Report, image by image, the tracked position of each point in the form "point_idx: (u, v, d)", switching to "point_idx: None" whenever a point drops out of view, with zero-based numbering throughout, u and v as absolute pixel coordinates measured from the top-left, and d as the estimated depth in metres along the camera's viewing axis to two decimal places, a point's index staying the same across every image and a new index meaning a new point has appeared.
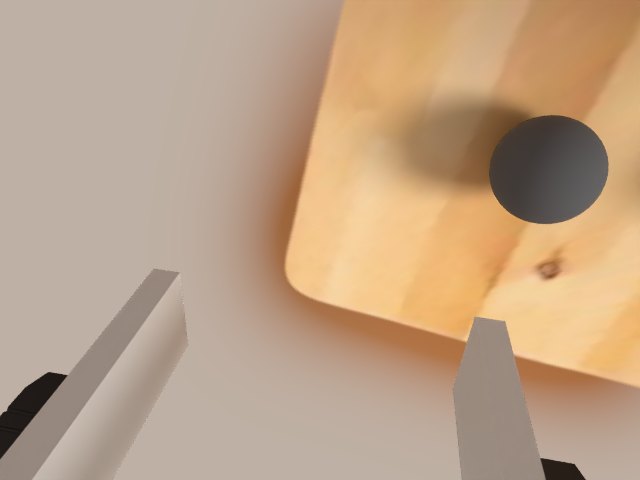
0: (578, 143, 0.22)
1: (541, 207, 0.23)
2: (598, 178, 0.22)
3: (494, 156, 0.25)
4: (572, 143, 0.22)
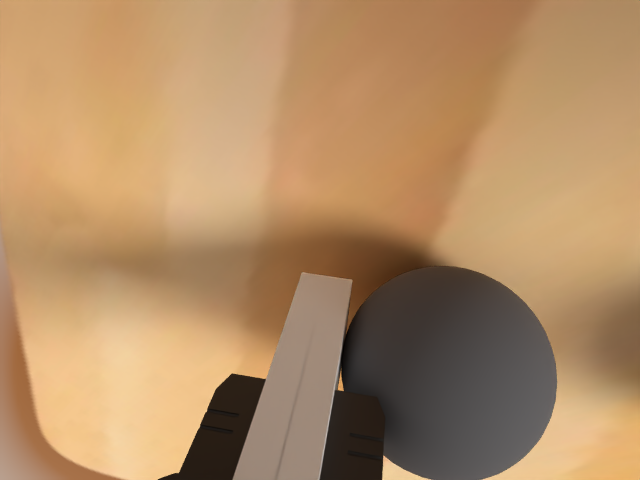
0: (521, 349, 0.11)
1: (483, 477, 0.11)
2: (556, 386, 0.12)
3: (356, 388, 0.12)
4: (513, 354, 0.10)
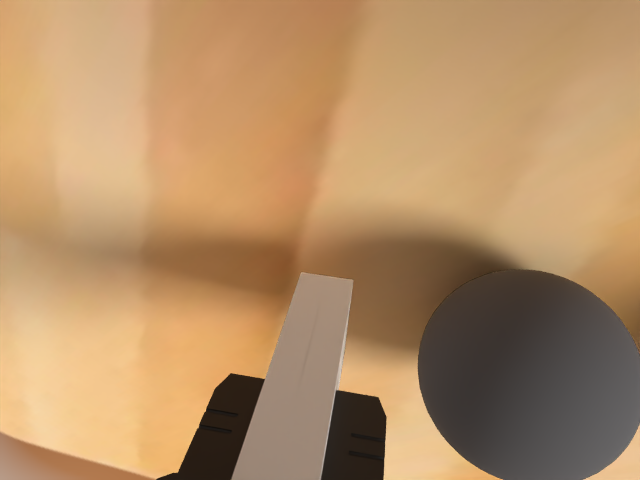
0: None
1: None
2: None
3: None
4: None
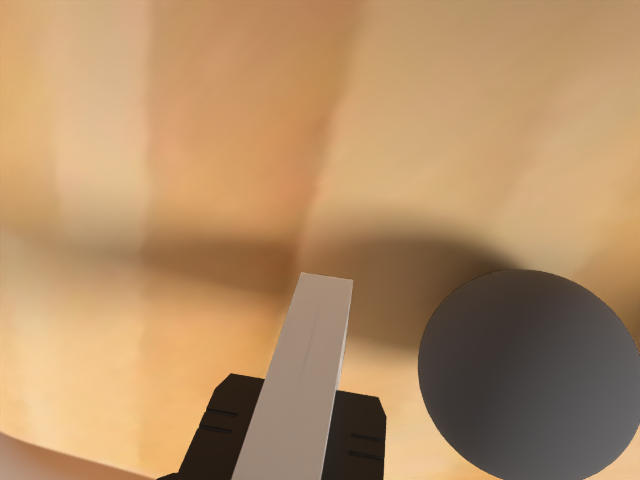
0: None
1: None
2: None
3: None
4: None
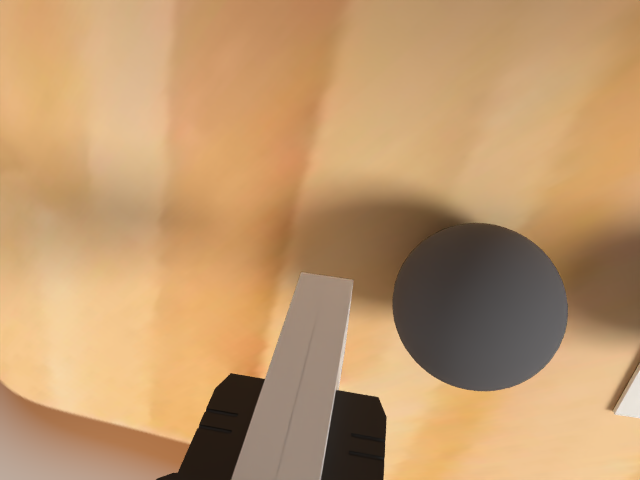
0: None
1: None
2: None
3: (565, 329, 0.15)
4: None
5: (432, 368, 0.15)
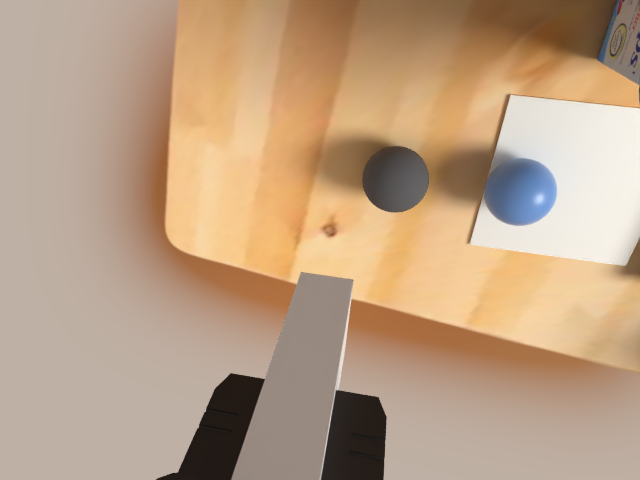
0: None
1: None
2: None
3: (426, 185, 0.39)
4: None
5: (375, 200, 0.39)
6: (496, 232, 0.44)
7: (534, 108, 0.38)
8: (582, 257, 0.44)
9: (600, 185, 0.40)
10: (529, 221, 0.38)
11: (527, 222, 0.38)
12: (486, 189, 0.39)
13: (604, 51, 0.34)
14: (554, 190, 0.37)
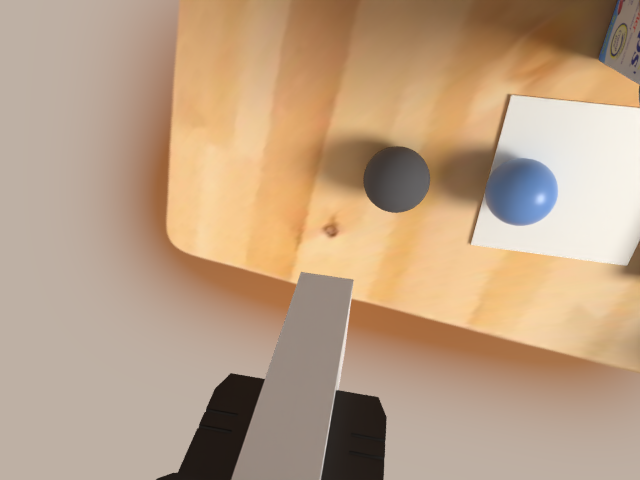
0: None
1: None
2: None
3: (427, 185, 0.39)
4: None
5: (376, 200, 0.39)
6: (497, 232, 0.44)
7: (535, 108, 0.38)
8: (583, 257, 0.44)
9: (601, 185, 0.40)
10: (530, 221, 0.38)
11: (528, 221, 0.38)
12: (487, 189, 0.39)
13: (605, 51, 0.34)
14: (555, 190, 0.37)
